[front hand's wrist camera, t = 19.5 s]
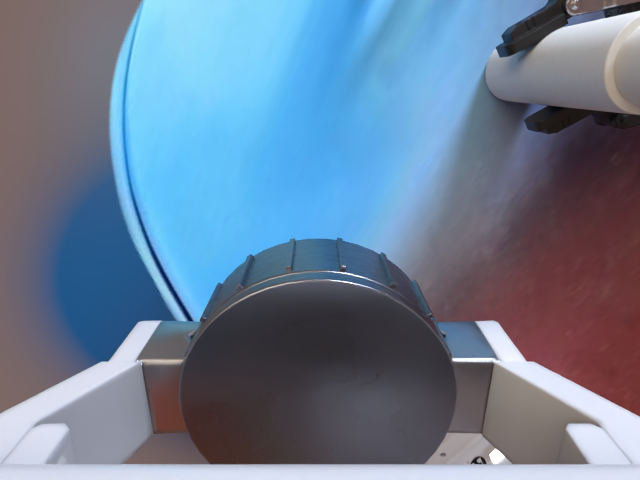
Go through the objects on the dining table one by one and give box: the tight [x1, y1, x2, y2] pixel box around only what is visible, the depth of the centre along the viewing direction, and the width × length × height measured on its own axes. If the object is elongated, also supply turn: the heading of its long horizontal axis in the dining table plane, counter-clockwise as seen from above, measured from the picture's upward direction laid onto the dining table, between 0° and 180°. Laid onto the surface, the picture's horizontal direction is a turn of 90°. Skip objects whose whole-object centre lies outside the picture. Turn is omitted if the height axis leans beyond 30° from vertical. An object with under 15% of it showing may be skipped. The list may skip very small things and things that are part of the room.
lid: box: [179, 238, 457, 464], centre depth 9 cm, size 5×5×2 cm
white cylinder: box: [485, 11, 640, 115], centre depth 26 cm, size 5×5×17 cm
